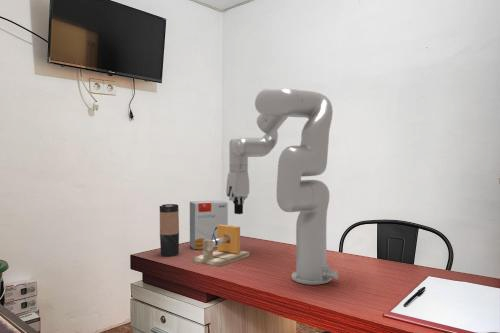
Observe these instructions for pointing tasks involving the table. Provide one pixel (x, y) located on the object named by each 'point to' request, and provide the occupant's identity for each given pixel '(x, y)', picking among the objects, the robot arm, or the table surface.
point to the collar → (234, 238)
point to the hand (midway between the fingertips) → (238, 213)
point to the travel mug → (169, 230)
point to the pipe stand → (218, 255)
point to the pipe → (221, 240)
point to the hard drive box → (206, 221)
